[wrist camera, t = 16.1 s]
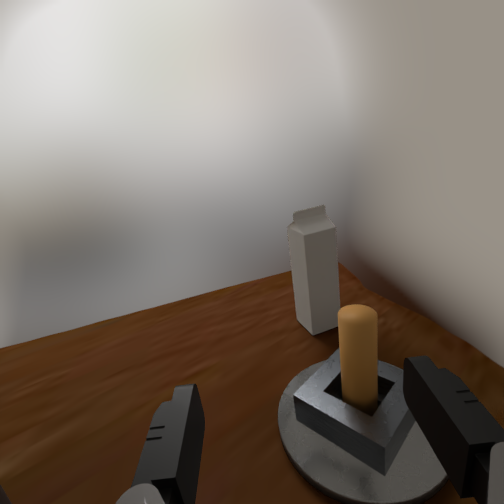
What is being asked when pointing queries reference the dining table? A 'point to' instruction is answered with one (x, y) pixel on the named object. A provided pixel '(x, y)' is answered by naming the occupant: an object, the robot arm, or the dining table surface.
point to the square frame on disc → (357, 439)
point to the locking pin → (359, 357)
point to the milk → (314, 269)
